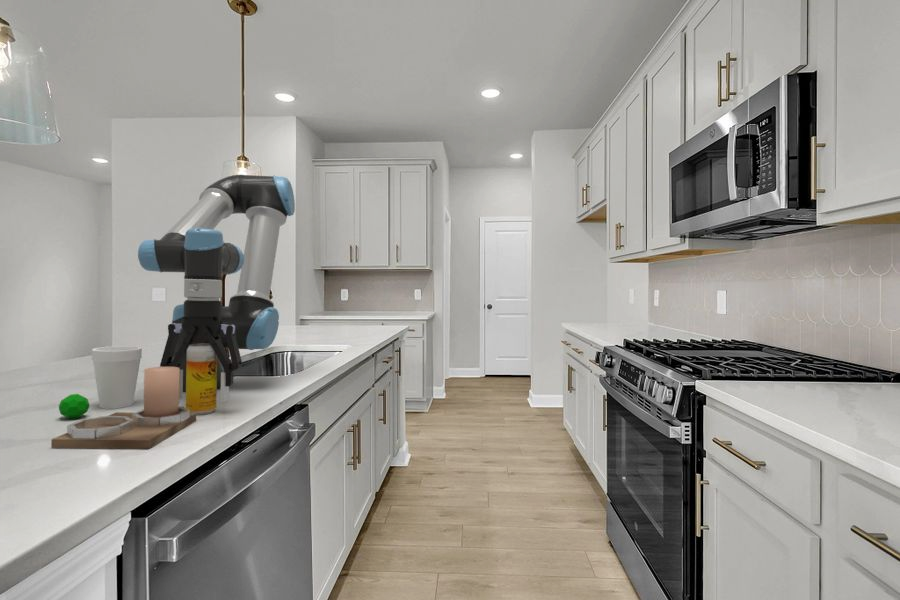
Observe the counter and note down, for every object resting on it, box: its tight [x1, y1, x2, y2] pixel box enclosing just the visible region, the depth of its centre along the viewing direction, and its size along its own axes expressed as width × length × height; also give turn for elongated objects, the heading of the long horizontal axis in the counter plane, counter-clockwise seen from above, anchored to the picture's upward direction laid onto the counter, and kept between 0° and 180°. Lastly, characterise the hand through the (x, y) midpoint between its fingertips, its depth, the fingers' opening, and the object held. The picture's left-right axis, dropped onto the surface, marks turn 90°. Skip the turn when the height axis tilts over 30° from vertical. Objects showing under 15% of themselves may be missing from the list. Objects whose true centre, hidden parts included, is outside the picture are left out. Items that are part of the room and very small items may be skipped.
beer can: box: [185, 343, 218, 416], centre depth 110 cm, size 6×6×15 cm
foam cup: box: [91, 345, 143, 409], centre depth 113 cm, size 10×9×13 cm
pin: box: [143, 366, 180, 417], centre depth 98 cm, size 6×6×10 cm
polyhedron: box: [58, 393, 90, 420], centre depth 102 cm, size 5×5×5 cm
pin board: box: [50, 411, 197, 450], centre depth 94 cm, size 18×16×2 cm
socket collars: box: [66, 405, 190, 439], centre depth 94 cm, size 17×16×2 cm
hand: (201, 400), depth 110 cm, fingers open, 9 cm apart
